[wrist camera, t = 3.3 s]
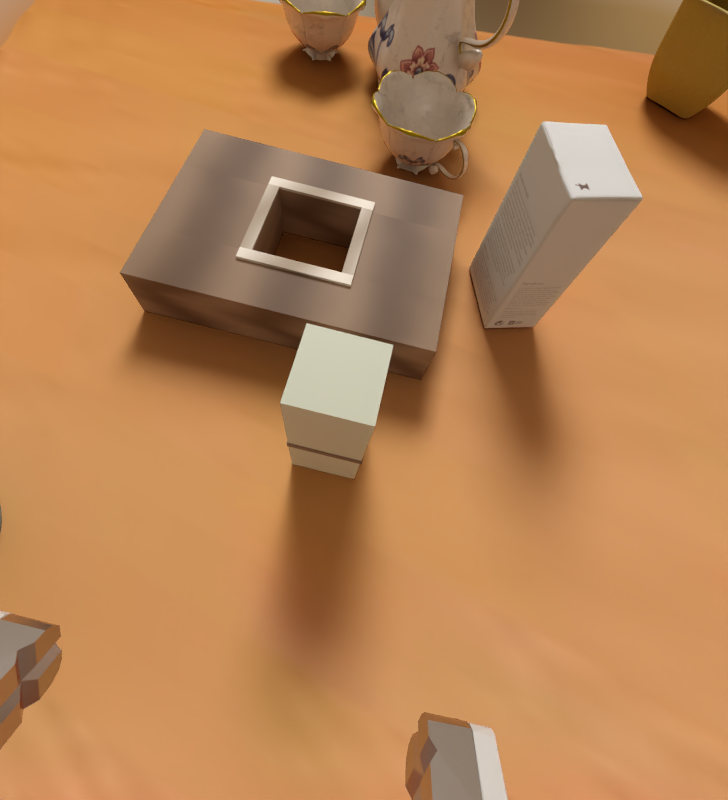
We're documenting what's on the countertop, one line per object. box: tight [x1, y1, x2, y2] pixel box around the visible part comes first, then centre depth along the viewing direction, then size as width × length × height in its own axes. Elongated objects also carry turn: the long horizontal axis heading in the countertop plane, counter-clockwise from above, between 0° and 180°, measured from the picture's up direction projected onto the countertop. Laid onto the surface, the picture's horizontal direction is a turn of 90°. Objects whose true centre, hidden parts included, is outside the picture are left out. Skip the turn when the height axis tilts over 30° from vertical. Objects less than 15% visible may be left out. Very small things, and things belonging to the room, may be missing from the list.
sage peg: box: [280, 323, 393, 479], centre depth 22 cm, size 4×4×10 cm
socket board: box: [120, 129, 463, 380], centre depth 30 cm, size 20×14×4 cm
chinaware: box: [279, 0, 519, 180], centre depth 35 cm, size 28×17×17 cm, turn 36°
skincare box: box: [469, 122, 643, 328], centre depth 28 cm, size 6×4×12 cm
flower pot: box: [646, 0, 728, 119], centre depth 43 cm, size 9×9×9 cm
